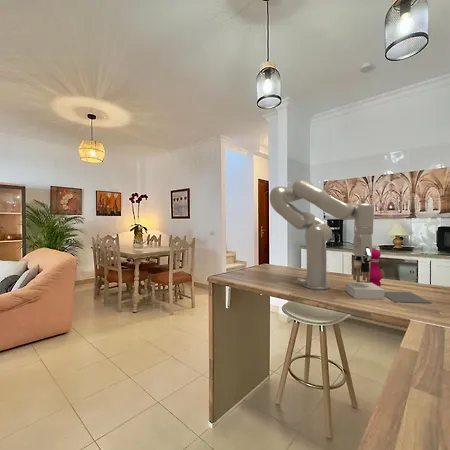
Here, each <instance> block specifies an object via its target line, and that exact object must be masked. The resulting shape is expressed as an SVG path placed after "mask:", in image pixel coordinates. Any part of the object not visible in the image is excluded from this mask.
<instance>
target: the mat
mask: <svg viewBox="0 0 450 450" xmlns="http://www.w3.org/2000/svg"><path fill="white" fill-rule="evenodd" d="M384 298H387V299H388V300H390V301H391V302H393V303H398V302H400V303H402V304H403V303H404V304H405V303H406V304H432V302H431V301H430V300H427V299H425V298H423V297H421V296H419V295H417V294H415V293H413V292H411V291H410V292H408V291H384Z"/></svg>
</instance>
